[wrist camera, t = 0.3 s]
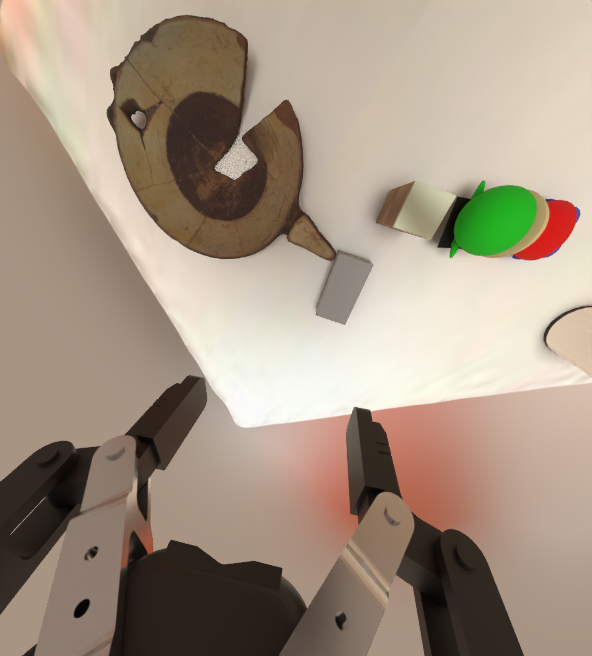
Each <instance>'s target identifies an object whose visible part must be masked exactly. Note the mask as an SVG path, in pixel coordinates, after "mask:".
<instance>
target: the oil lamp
mask: <svg viewBox="0 0 592 656" xmlns="http://www.w3.org/2000/svg"><path fill="white" fill-rule="evenodd" d="M247 52H248V42H247V39H246V38H245V37H244V36H243V35H242V34H241V33H239V32H238V31H236V30H234V29H231V28H229V27H228V26H227V25H226V24H225V23H222V22H219V21H216V20H214V19H213V18H212V19H211V18H207V17H206V18H204V17H198V16H192V15H191V16H190V15H183V16H177V17H173V18H171V19H165V20H163V21H162V22H161V23H159V24H156V25H154V26H153V27H152V28H150V29H149V30H148V31H147V32H146V33H145V34H144V35H142V36H141V39H140V40H139V41H137V42H135V43H134V45H133V47H132V48H131V51H130V52H129V54H128V55H127V56H126V57H125V60H124V61H123V62H121V64H120V65H119V66H115V67H113V68H111V70H110V77H111V80H112V83H113V90H114V100H113V102H112V104H111V105H110V106H109V107H108V109H107V118H108V120H109V122H110V124H111V126H112V128H113V130H114V132H115V134H116V140H117V145H118V150H119V154H120V157H121V161H122V163H123V166H124V170H125V172H126V175H127V178H128V180H129V182H130V185H131V187H132V189H133V191H134V192H135V194H136V196H137V197H138V199H139V201H140V203H141V204H142V206H143V207H144V209H145V210H146V212H147V213H148V214H149V216H150V217H151V218H152V219H153V220H154V222H155V223H156V224H157V225H158V226H159V227H160V228H161V229H162V230H163V231H164V232H165V233H166V234H167V235H169V236H170V237H171V238H173V239H174V240H176V241H178V242H180V244H182V245H183V246H185V247H187V248H188V249H190V250H192V251H194V252H197V253H200V254H202V255H205V256H209V257H213V258H219V259H235V258H241V257H246V256H250V255H253V254H255V253H257V252H259V251H261V250H263V249H264V248H266V247H267V246H268V245H269V244H271V243H272V242H273V241H274V240H275V239H276V238H277V237H278V236H279V235H280V234H287V235H288V236H287V239H288V241H289V242H291V243H293V244H295V245H298V246H301V247H303V248H305V249H307V250H309V251H311V252H313V253H315V254H316V255H318V256H320V257H322V258H323V259H326V260H329V261H332V260H333V259H334V258H335V257H336V251H335V250H334V248H333V247H332V246H331V244H330V243H329V242H328V241H327V240H326V239H325V237H324V236H323V235H322V234H321V233H320V232H319V230H318V229H317V227H316V226H315V224H314V223H313V221H312V220H311V219H310V217H309V216H308V215H307V214H305V213H304V212H303V211H302V210H301V209H300V207H299V193H300V188H301V184H302V177H303V147H302V139H301V133H300V128H299V123H298V119H297V117H296V116H295V113H294V111H293V108H292V105H291V104H290V102H289V101H288V100H285V101H283V102H282V103H281V104H280V105H279V106H278V107H277V108H275V109H274V110H273V112H271V113H270V114H269V115H268V116H266V117H265V118H263V119H262V120H261V122H260V123H258V124H257V125H256V126H254V127H253V128H252V129H250V130H249V131H248V132H246V133H245V134H244V136H243V137H242V140H243V142H244V143H245V144H246V145H247V147H248V148H249V149H250V150H251V151H252V152H253V153H254V154H255V156H256V157H257V158H258V162H257V164H256V165H254V166H253V167H252V168H251V169H250V170H248V171H246V172H244V173H242V175H241V176H240V177H239V178H238V179H236V180H232V179H231V178H229V177H227V176H225V175H223V174H221V173H220V172H216V171H215V170H214V165H215V164H216V163H217V161H219V160H220V159H221V158H222V157H223V156H224V154H225V153H226V152H227V151H228V150H229V149H230V148H231V146H232V144H233V143H234V139H235V138H236V136H237V134H238V128H239V125H240V122H241V110H242V108H243V101H244V87H245V80H246V68H247V67H246V63H247ZM136 111H140V112H143V113H144V114H145V115H146V126H145V128H144V129H140V128H138V127H137V126H136V125H135V124H134V123H133V121H132V119H131V115H132V114H135V112H136ZM245 162H246V161H245Z"/></svg>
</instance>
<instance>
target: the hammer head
mask: <svg viewBox="0 0 592 656" xmlns="http://www.w3.org/2000/svg"><path fill="white" fill-rule="evenodd" d="M372 267H373V264H372V263H371V262H370V261H369V260H366V259H363V258H360V257H357V256H354V255H351V254H348V253H346V252H343V251H340V250H339V251H338V253H337V256H336V259H335V261H334V264H333V267H332V269H331V272H330V274H329V277H328V280H327V282H326V285H325V287H324V290H323V293H322V295H321V298H320V301H319V303H318V306H317V309H316V315H317V316H320V317H323V318H326V319H329V320H332V321H335V322H338V323H341V324H344V325H345V324H346V322H347V319H348V317H349V315H350V313H351V311H352V309H353V307H354V305H355V303H356V300H357V298H358V296H359V294H360V292H361V290H362V288H363V286H364V284H365V281H366V279H367V277H368V275H369V273H370V271H371V269H372Z"/></svg>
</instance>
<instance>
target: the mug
mask: <svg viewBox="0 0 592 656" xmlns="http://www.w3.org/2000/svg"><path fill="white" fill-rule="evenodd" d="M545 343H546V345H547V346H548V347H549V348H550V349H551V350H552V351H554V352H555V353H557V354H558V355H560V356H561V357H563V358H564V359H566V360H567V361H569V362H570V363H572V364H573V365H575V366H576V367H578V368H579V369H581V370H582V371H584V372H585V373H587V374H588V375H590V376H591V377H592V306H590V307H581V308H577V309H573V310H571V311H568V312H566V313H564V314H563V315H561V316H559V317H558V318H556V319H555V320H554V321H553V322H552V323H551V324H550V325H549V327H548V328H547V330H546V332H545Z"/></svg>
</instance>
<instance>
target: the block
mask: <svg viewBox="0 0 592 656" xmlns="http://www.w3.org/2000/svg"><path fill="white" fill-rule="evenodd" d="M455 197H456V195H454V194H451V193H448V192H445V191H442V190H439V189H436V188H434V187H431V186H428V185H425V184H422V183H419V182H416V181H414V182H412V183H409V184H406V185H403V186H400V187H398V188H395V189H392V190H390V192H389V194H388V196H387V198H386V201H385V203H384V205H383V208H382V210H381V212H380V214H379V217H378V219H377V221H376V223H379V224H381V225H384V226H387V227H390V228H393V229H396V230H399V231H402V232H405V233H408V234H412V235H415V236H419V237H422V238H425V239H429V240H431V239H432V237H433V235H434V234H435V232H436V230H437V228H438V227H439V225H440V223H441V222H442V220H443V218H444V216H445V215H446V213H447V211H448V209H449V208H450V206H451V204H452V202H453V201H454V199H455Z"/></svg>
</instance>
